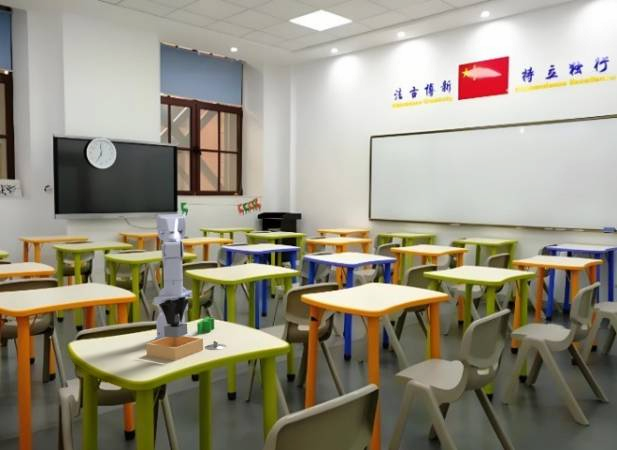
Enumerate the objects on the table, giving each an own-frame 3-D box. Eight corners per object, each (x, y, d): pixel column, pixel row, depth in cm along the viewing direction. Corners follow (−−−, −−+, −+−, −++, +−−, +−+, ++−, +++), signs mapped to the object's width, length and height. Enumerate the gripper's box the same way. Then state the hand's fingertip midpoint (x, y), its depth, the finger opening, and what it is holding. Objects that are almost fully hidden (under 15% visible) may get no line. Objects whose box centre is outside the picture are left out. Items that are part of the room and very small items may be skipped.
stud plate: (200, 349, 163) (199, 342, 163) (214, 344, 169) (214, 337, 169) (217, 352, 159) (216, 344, 159) (230, 346, 166) (230, 339, 165)
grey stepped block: (164, 336, 157) (163, 315, 157) (174, 333, 162) (173, 312, 161) (177, 337, 155) (176, 315, 155) (187, 333, 160) (186, 312, 160)
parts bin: (146, 356, 156) (146, 343, 156) (174, 346, 167) (174, 334, 167) (175, 361, 150) (175, 348, 150) (203, 350, 161) (202, 338, 161)
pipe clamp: (207, 336, 181) (207, 323, 181) (197, 335, 181) (197, 323, 181) (216, 328, 192) (216, 316, 192) (207, 328, 193) (207, 316, 192)
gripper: (165, 283, 150) (166, 329, 150) (198, 277, 162) (199, 319, 163) (148, 282, 153) (149, 326, 154) (182, 276, 166) (183, 317, 166)
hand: (174, 323), depth 158 cm, fingers closed on grey stepped block, 3 cm apart
